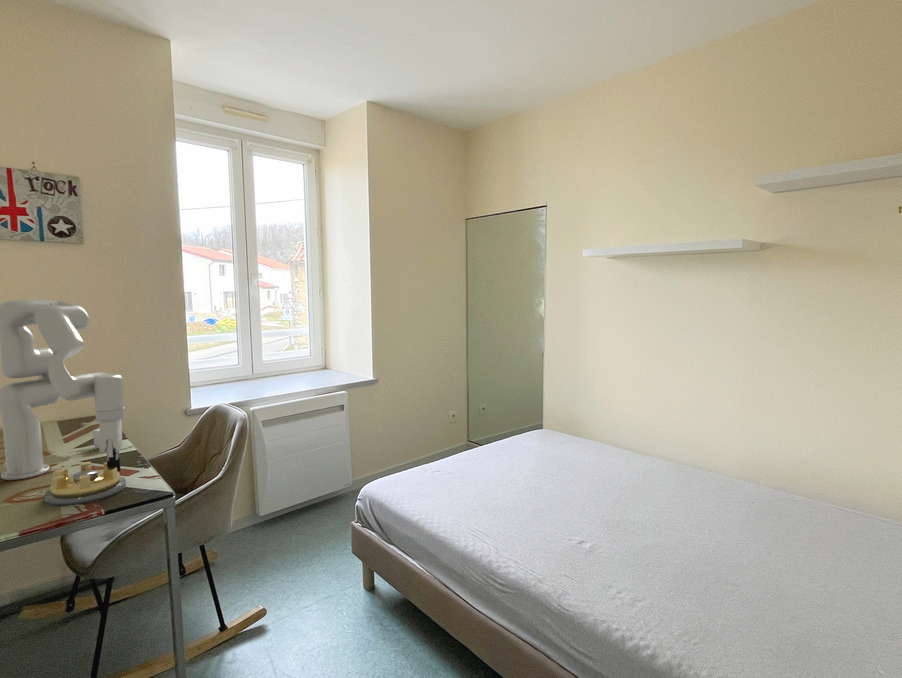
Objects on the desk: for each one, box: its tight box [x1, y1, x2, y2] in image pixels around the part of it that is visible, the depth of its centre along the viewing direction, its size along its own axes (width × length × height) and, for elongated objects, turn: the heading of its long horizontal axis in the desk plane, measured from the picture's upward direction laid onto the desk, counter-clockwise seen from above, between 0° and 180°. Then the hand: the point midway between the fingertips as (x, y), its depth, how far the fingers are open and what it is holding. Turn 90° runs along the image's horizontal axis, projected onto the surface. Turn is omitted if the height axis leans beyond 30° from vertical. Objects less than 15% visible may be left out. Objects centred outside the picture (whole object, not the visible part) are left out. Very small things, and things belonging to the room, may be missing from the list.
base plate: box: [44, 476, 127, 507], centre depth 150 cm, size 20×20×2 cm
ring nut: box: [49, 461, 121, 498], centre depth 150 cm, size 17×17×6 cm
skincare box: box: [92, 428, 100, 449], centre depth 197 cm, size 6×6×7 cm
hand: (114, 471), depth 153 cm, fingers closed
